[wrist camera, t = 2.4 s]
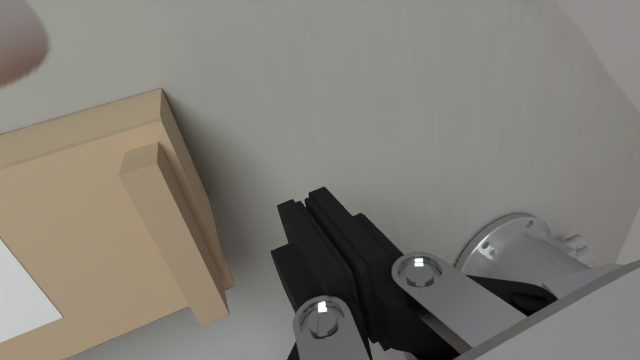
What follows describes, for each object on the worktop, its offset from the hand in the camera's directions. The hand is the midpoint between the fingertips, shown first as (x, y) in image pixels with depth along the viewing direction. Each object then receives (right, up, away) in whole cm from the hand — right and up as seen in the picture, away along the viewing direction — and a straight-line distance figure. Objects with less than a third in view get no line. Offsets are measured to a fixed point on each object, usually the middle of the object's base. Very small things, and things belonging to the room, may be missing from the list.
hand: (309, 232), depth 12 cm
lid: (-12, -2, +2) cm, 13 cm away
